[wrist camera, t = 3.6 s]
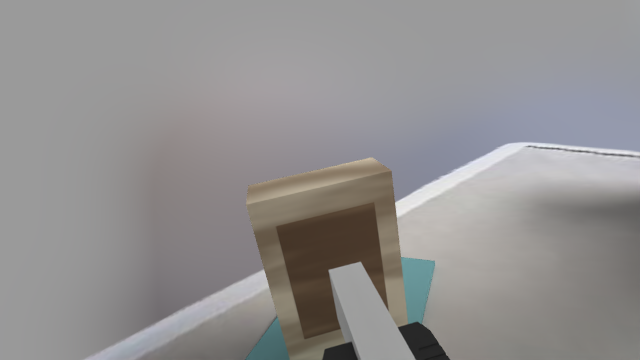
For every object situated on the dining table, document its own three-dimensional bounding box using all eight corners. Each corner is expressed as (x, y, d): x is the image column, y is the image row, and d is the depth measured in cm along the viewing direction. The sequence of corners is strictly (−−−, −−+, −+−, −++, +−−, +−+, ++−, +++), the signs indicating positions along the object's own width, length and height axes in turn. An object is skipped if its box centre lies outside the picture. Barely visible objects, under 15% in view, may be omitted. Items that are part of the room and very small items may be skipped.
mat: (329, 252, 43) (328, 248, 43) (434, 265, 37) (434, 261, 37) (178, 456, 22) (175, 451, 22) (364, 575, 15) (362, 568, 15)
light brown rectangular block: (291, 343, 29) (248, 185, 24) (391, 314, 30) (371, 157, 25) (296, 382, 25) (246, 204, 20) (410, 347, 26) (391, 170, 21)
